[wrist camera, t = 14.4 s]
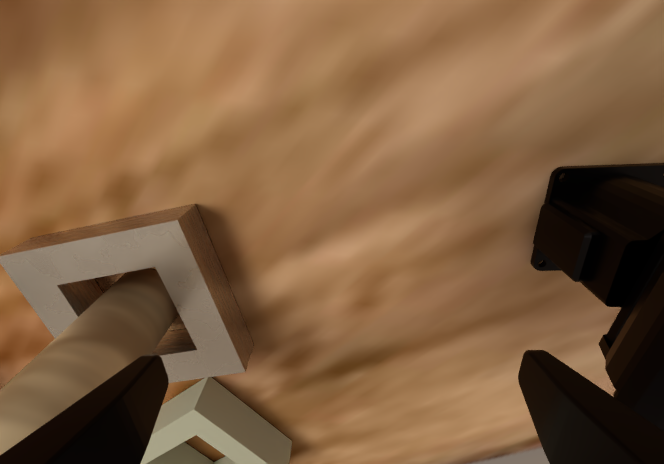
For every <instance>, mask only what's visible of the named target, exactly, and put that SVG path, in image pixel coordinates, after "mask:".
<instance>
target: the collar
mask: <svg viewBox="0 0 664 464" xmlns="http://www.w3.org/2000/svg"><path fill="white" fill-rule="evenodd" d="M195 435H197V436H198V437H200V438H201V439H203V440H204V441H206V442H207V443H208V444H210V445H211V446H213V447H214V448H215V449H217V450H218V451H220V452H221V453H223V454H224V455H225V457H223V458H221V459H219V460H217V461H216V462H213V461H211V460H210V459H208V458H207V457H205V456H204V455H203V454H201V453H200V452H198V451H197V450H195V449H194V448H192V447H191V446H189V445H188V444H186V443H185V441H186V440H188V439H190V438H192V437H193V436H195ZM291 447H292V441H291V440H290V439H289V438H288V437H286V436H285V435H284V434H282V433H281V432H280V431H279V430H277V429H276V428H275V427H274V426H272V425H271V424H270V423H269V422H267V421H266V420H265V419H263V418H262V417H261V416H260V415H258V414H257V413H256V412H255V411H253V410H252V409H251V408H250V407H248V406H247V405H246V404H245V403H243V402H242V401H241V400H239V399H238V398H237V397H236V396H234V395H233V394H232V393H231V392H229V391H228V390H227V389H226V388H224V387H223V386H222V385H221V384H219V383H218V382H217V381H215V380H214V379H213V378H212V377H207V378H204V379H202V380H201V381H199V382H198V383H196V384H195V385H193V386H191V387H190V388H188V389H187V390H185V391H184V392H182V393H180V394H179V395H177V396H176V397H174V398H173V399H171V400H169V401H168V402H166V403H165V404H163V405H162V406H161V409H160V412H159V415H158V418H157V421H156V424H155V426H154V429H153V432H152V435H151V438H150V441H149V444H148V446H147V449H146V452H145V454H144V456H143V459H142V461H141V463H140V464H289V461H290V454H291Z"/></svg>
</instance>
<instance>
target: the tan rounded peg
mask: <svg viewBox="0 0 664 464" xmlns="http://www.w3.org/2000/svg"><path fill="white" fill-rule="evenodd" d="M178 314H179V313H178V311H177V309H176V307H175V305H174V303H173V301H172V299H171V297H170V295H169V293H168V291H167V289H166V287H165V285H164V283H163V281H162V279H161V277H160V275H159V274H158V272H157V270H154V269H150V268H146V269H141V270H136V271H130V272H127V273H125V274H124V275H123V276H122V277H121V278H120V279H119V280H118V281H117V282H115V283H114V284H113V285H112V286H111V287H110V288H109V289H108V290H107V291H106V292H105V293H104V294H103V295H102V296H100V297H99V298H98V299H97V300H96V301H95V302H94V303H93V304H92V305H91V306H90V307H89V308H88V309H86V310H85V311H84V312H83V313H82V314H81V315H80V316H79V317H78V318H77V319H76V320H75V321H74V322H73V323H71V324H70V325H69V326H68V327H67V328H66V329H65V330H64V331H63V332H62V333H61V334H60V335H59V336H58V337H56V338H55V339H54V340H53V341H52V342H51V343H50V344H49V345H48V346H47V347H46V348H45V349H44V350H43V351H41V352H40V353H39V354H38V355H37V356H36V357H35V358H34V359H33V360H32V361H31V362H30V363H29V364H28V365H26V366H25V367H24V368H23V369H22V370H21V371H20V372H19V373H18V374H17V375H16V376H15V377H14V378H12V379H11V380H10V381H9V382H8V383H7V384H6V385H5V386H4V387H3V388H2V389H1V390H0V455H1V454H3V453H4V452H6V451H7V450H8V449H10V448H11V447H13V446H14V445H16V444H17V443H18V442H20V441H21V440H23V439H24V438H25V437H27V436H28V435H30V434H31V433H33V432H34V431H35V430H37V429H38V428H40V427H41V426H42V425H44V424H45V423H47V422H48V421H50V420H51V419H52V418H54V417H55V416H57V415H58V414H59V413H61V412H62V411H64V410H65V409H67V408H68V407H69V406H71V405H72V404H74V403H75V402H76V401H78V400H79V399H81V398H82V397H84V396H85V395H86V394H88V393H89V392H91V391H92V390H93V389H95V388H96V387H98V386H99V385H101V384H102V383H103V382H105V381H106V380H108V379H109V378H110V377H112V376H113V375H115V374H116V373H118V372H119V371H120V370H122V369H123V368H125V367H126V366H127V365H129V364H130V363H132V362H133V361H134V360H136V359H137V358H139V357H140V356H142V355H151V354H152V352H153V351H154V349H155V348H156V347H157V345H158V344H159V342H160V341H161V339H162V338H163V336H164V335H165V333H166V332H167V330H168V329H169V327H170V326H171V324H172V323H173V321H174V320H175V318H176V317H177V315H178Z"/></svg>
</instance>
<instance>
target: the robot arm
mask: <svg viewBox="0 0 664 464" xmlns="http://www.w3.org/2000/svg"><path fill="white" fill-rule="evenodd" d="M563 173H565V175H564V177H563V178H562V179H560V180H559V177H560V175H561V174H563ZM663 174H664V163H653V164H624V165H595V166H567V167H558V168H556V169H555V170H554V171H553V172H552V174H551V176H550V181H549V185H548V189H547V194H546V198H545V202H544V204H543V205H542V207H541V211H540V215H539V219H538V224H537V228H536V232H535V236H534V241H533V244H534V249H533V253H532V258H531V265H532V266H533V267H534V268H535V269H536V270H539V271H551V270H562V271H563V272H564V273H565V274H566V275H568V276H569V277H570V278H571V279H572V280H573V281H575V282H581V283H582V284H583V285H584V286H585V287H586V288H587V289H588V290H590V291H591V292H592V293H593V294H594V295H595V296H596V297H597V298H599V299H600V300H601V301H602V302H603V303H604V304H605V305H606V306H609V307H621V310H620V312H619V314H618V315H617V317H616V319H615V321H614V322H613V324H612V326H611V328H610V330H609V331H608V333H607V334H605V335H603V337H602V338H601V340H600V342H599V346H600V348H601V350H602V353H603V355H604V357H605V359H606V366H605V369H606V371H607V373H608V376H609V378H610V380H611V382H612V384H613V386H614V388H615V389H616V390H615V392H614V394H613V396H614V397H613V396H611V395H610V394H608V393H607V392H605V391H604V390H602V389H601V388H599V387H598V386H597V385H595V384H594V383H592V382H591V381H589V380H588V379H586V378H585V377H583V376H582V375H580V374H579V373H577V372H576V371H574V370H573V369H571V368H570V367H569V366H567V365H566V364H564V363H563V362H561V361H560V360H558V359H557V358H555V357H554V356H552V355H551V354H549V353H548V352H546V351H544V350H527V351H526V352H525V353H524V355H523V359H522V362H521V366H520V370H519V375H518V380H519V385H520V388H521V390H522V393H523V396H524V398H525V401H526V404H527V407H528V409H529V412H530V415H531V418H532V420H533V423H534V426H535V429H536V431H537V434H538V437H539V439H540V442H541V445H542V447H543V450H544V452H545V454H546V456H547V458H548V461H549V463H550V464H664V176H663ZM542 260H543V262H542V263H540V264H538V263H539V262H540V261H542ZM168 383H169V380H168V375H167V372H166V369H165V366H164V363H163V361H162V358H161V357H160V356H159V355H142V356H140V357H139V358H137V359H136V360H134V361H133V362H132V363H130V364H129V365H127V366H126V367H125V368H123V369H122V370H120V371H119V372H118V373H116V374H115V375H113V376H112V377H110V378H109V379H108V380H106V381H105V382H103V383H102V384H101V385H99V386H98V387H96V388H95V389H93V390H92V391H91V392H89V393H88V394H86V395H85V396H84V397H82V398H81V399H79V400H78V401H76V402H75V403H74V404H72V405H71V406H69V407H68V408H67V409H65V410H64V411H62V412H61V413H59V414H58V415H57V416H55V417H54V418H52V419H51V420H50V421H48V422H47V423H45V424H44V425H42V426H41V427H40V428H38V429H37V430H35V431H34V432H33V433H31V434H30V435H28V436H27V437H25V438H24V439H23V440H21V441H20V442H18V443H17V444H16V445H14V446H13V447H11V448H10V449H8V450H7V451H6V452H4V453H3V454H1V455H0V464H140V463H141V461H142V459H143V456H144V454H145V452H146V449H147V446H148V444H149V441H150V438H151V435H152V432H153V429H154V426H155V424H156V421H157V418H158V415H159V412H160V409H161V406H162V403H163V400H164V397H165V394H166V391H167V388H168Z"/></svg>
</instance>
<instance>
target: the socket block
mask: <svg viewBox="0 0 664 464" xmlns="http://www.w3.org/2000/svg"><path fill="white" fill-rule="evenodd" d="M0 264H1V265H2V266H3V268H4V269H5V270H6V272H7V273H8V275H9V276H10V277H11V279H12V280H13V281H14V283H15V284H16V286H17V287H18V288H19V290H20V291H21V292H22V294H23V295H24V297H25V298H26V299H27V301H28V302H29V303H30V305H31V306H32V308H33V309H34V310H35V312H36V313H37V315H38V316H39V317H40V319H41V320H42V321H43V323H44V324H45V326H46V327H47V328H48V330H49V331H50V332H51V334H52V335H53V337H54V338H56V337H58V336H59V335H60V334H61V333H62V332H63V331H64V330H65V329H66V328H67V327H68V326H69V325H70V324H71V323H73V322H74V321H75V320H76V319H77V318H78V317H79V316H80V315H81V314H82V313H83V312H84V311H85V310H86V309H88V308H89V307H90V306H91V305H92V304H93V303H94V302H95V301H96V300H97V299H98V298H99V297H100V296H102V295H103V293H102V291H101V289H100V288H99V286H98V284H97V283H96V281H95V279H94V278H98V277H104V276H109V275H114V274H120V273H125V272H130V271H136V270H141V269H146V268H152V267H155V268H156V270H157V272H158V274H159V275H160V277H161V279H162V281H163V283H164V285H165V287H166V289H167V291H168V293H169V295H170V297H171V299H172V301H173V303H174V305H175V307H176V309H177V311H178V313H179V315H180V317H181V319H182V321H183V323H184V325H185V327H186V329H180V330H174V331H167V332H166V333H165V335H164V336H163V338H162V339H161V341H160V342H159V344H158V345H157V347H156V348H155V349H154V351H153V352H152V354H151V355H159V356H160V357H161V358H162V361H163V363H164V366H165V369H166V372H167V375H168V380H169V383H171V382H178V381H186V380H193V379H200V378H207V377H214V376H221V375H228V374H235V373H242V372H246V369H247V366H248V362H249V359H250V356H251V353H252V350H253V347H254V344H253V341H252V339H251V337H250V334H249V332H248V329H247V327H246V325H245V322H244V320H243V317H242V315H241V313H240V310H239V308H238V305H237V303H236V300H235V298H234V296H233V293H232V291H231V288H230V286H229V284H228V281H227V279H226V276H225V274H224V272H223V269H222V267H221V264H220V262H219V259H218V257H217V255H216V252H215V250H214V247H213V245H212V243H211V240H210V238H209V235H208V233H207V231H206V228H205V226H204V223H203V221H202V218H201V216H200V214H199V211H198V209H197V206H196V204H193V205H188V206H183V207H178V208H173V209H169V210H164V211H159V212H154V213H149V214H145V215H140V216H135V217H130V218H125V219H121V220H116V221H111V222H106V223H101V224H97V225H92V226H87V227H82V228H77V229H73V230H68V231H63V232H58V233H53V234H48V235H44V236H39V237H34V238H30V239H29V240H27V241H25V242H23V243H21V244H19V245H17V246H16V247H14V248H12V249H10V250H8V251H6V252H4V253H2V254H1V255H0Z"/></svg>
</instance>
